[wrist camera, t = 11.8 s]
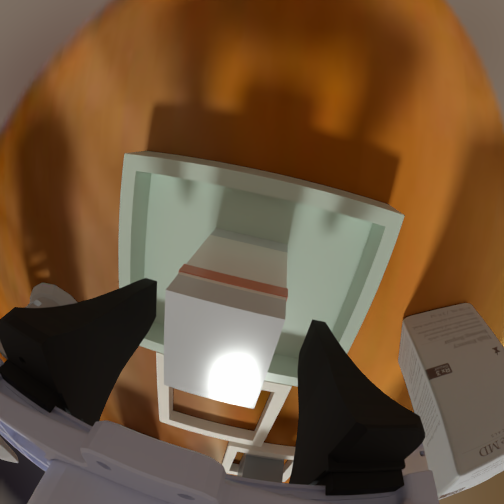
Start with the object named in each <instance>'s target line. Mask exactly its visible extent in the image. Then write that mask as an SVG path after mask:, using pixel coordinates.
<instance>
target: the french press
mask: <svg viewBox="0 0 504 504" xmlns="http://www.w3.org/2000/svg"><path fill="white" fill-rule="evenodd" d="M74 303H78V302H77V301H76V300H75V299H74V298H73V297H72V296H71V295H70V294H68V293H67V292H65V291H64V290H62V289H61V288H59V287H58V286H56V285H53V284H48V283H43V282H42V283H40V284H38V285H37V286H35V287H34V288H33V290H32V293H31V296H30V304H28V306H26V307H25V308H45V307H56V306H62V305H68V304H74ZM0 352H1V354H2V355H3V356H4V357H5V358H6V359H7V360H8V358H7V356H6V354H5V351H4V349H3V347H2V344H1V342H0ZM0 459H3V460H6V461H11V462H15V463H18V458H17V456H16V454H15V453H14V452H13V451H12V449H11V448H10V447H9V446H8V445H7V444H6V443H5V441H4V440H3V439H2V438H1V437H0Z"/></svg>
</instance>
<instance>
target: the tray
mask: <svg viewBox="0 0 504 504" xmlns="http://www.w3.org/2000/svg"><path fill="white" fill-rule="evenodd" d="M404 216H405V215H403V214H402V213H400V212H399V211H398V210H396V209H395V208H393V207H392V206H390V205H389V204H386V203H383V202H380V201H377V200H373V199H370V198H367V197H363V196H360V195H357V194H353V193H350V192H346V191H343V190H339V189H336V188H332V187H328V186H325V185H321V184H317V183H313V182H309V181H305V180H301V179H297V178H293V177H289V176H285V175H280V174H276V173H271V172H267V171H262V170H258V169H253V168H248V167H243V166H238V165H233V164H228V163H222V162H217V161H211V160H206V159H200V158H194V157H187V156H181V155H174V154H167V153H160V152H152V151H141V152H132V153H125V154H124V162H123V172H122V183H121V196H120V213H119V288H122V287H124V286H126V285H129V284H131V283H133V282H136V281H138V280H141V279H144V278H148V279H152V280H155V281H157V303H156V318H155V320H154V322H153V324H152V326H151V328H150V330H149V332H148V333H147V335H146V336H145V338H144V339H143V341H142V342H141V343H140V345H139V346H142V347H145V348H148V349H151V350H154V351H157V352H160V353H163V354H164V316H165V293H166V289H167V287H168V286H169V285H170V284H171V282H172V281H173V280H174V279H175V277H176V276H177V275H178V273H179V269H180V268H181V267H182V266H183V264H187V262H188V261H189V260H190V259H191V257H192V256H193V255H194V254H195V252H196V251H197V250H198V249H199V248H200V246H201V245H202V244H203V243H204V241H205V240H206V239H207V238H208V237H209V235H210V234H211V233H212V232H213V231H214V229H215V228H218V229H223V230H227V231H232V232H236V233H240V234H245V235H249V236H253V237H258V238H262V239H266V240H271V241H275V242H279V243H283V244H288V253H287V289H288V298H287V301H286V316H285V322H284V325H283V328H282V331H281V334H280V337H279V340H278V343H277V346H276V349H275V352H274V355H273V358H272V361H271V363H270V366H269V369H268V372H267V375H266V377H265V380H266V381H271V382H276V383H281V384H287V385H292V386H298V374H297V370H298V359H299V352H300V349H301V347H302V344H303V342H304V339H305V337H306V334H307V332H308V329H309V327H310V324H311V321H312V319H313V320H318V321H323V322H326V324H327V325H328V327H329V328H330V330H331V331H332V333H333V335H334V336H335V338H336V339H337V341H338V342H339V344H340V345H341V347H342V348H343V349H344V351H345V352H346V354H347V353H348V351H349V349H350V347H351V345H352V343H353V341H354V339H355V337H356V335H357V333H358V331H359V329H360V327H361V325H362V323H363V320H364V318H365V316H366V314H367V312H368V310H369V307H370V305H371V303H372V301H373V298H374V296H375V294H376V291H377V289H378V287H379V284H380V282H381V279H382V277H383V274H384V272H385V269H386V267H387V264H388V262H389V259H390V256H391V254H392V251H393V248H394V245H395V243H396V240H397V237H398V234H399V231H400V228H401V225H402V222H403V219H404Z"/></svg>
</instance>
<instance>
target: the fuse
mask: <svg viewBox="0 0 504 504" xmlns="http://www.w3.org/2000/svg"><path fill="white" fill-rule="evenodd" d="M283 467H284V459H280V458H273V457H266V456H259V455H254V454H248V453H244V455H243V457H242V459H241V461H240V464H239V469H238V474H237V476H239V477H244V478H250V479H256V480H263V481H270V482H278V483H282V479H283Z"/></svg>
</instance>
